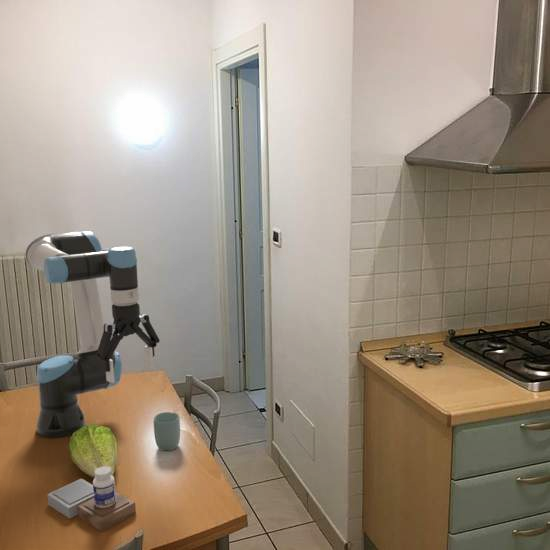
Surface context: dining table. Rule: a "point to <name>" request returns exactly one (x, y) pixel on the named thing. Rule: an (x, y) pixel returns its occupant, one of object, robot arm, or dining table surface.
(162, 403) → the dining table surface
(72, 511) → the stand
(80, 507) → the stand
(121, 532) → the dining table surface
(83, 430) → the lettuce
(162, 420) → the cup
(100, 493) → the pill bottle
